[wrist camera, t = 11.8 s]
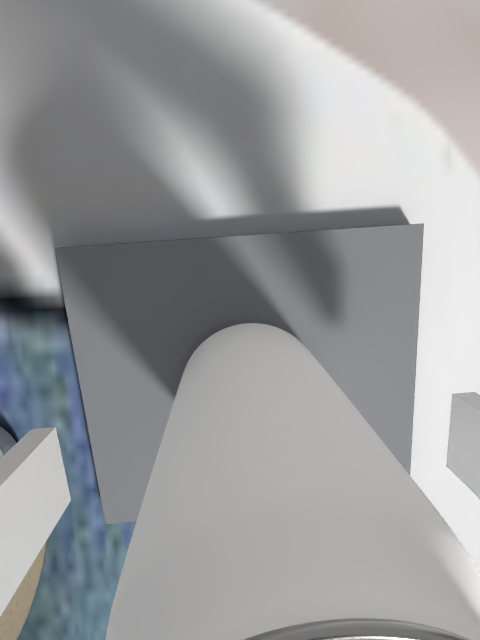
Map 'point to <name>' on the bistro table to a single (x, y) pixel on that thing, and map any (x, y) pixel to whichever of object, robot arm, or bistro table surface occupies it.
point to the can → (284, 515)
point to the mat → (232, 309)
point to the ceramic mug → (8, 626)
